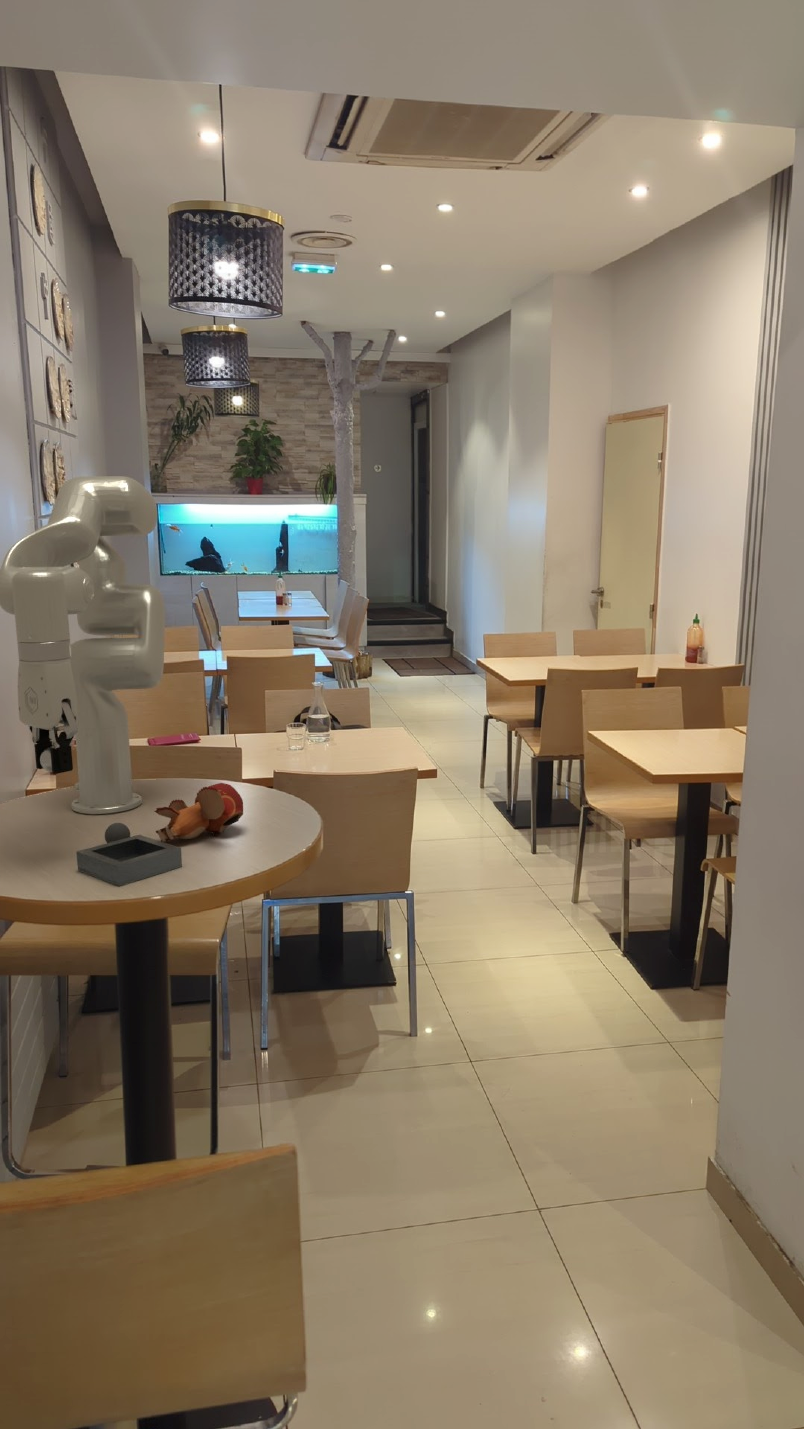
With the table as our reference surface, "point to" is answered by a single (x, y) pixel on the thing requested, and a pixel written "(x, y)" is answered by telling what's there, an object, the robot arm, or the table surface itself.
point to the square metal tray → (129, 859)
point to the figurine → (202, 813)
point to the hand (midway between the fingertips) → (54, 768)
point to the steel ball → (46, 759)
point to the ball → (116, 832)
